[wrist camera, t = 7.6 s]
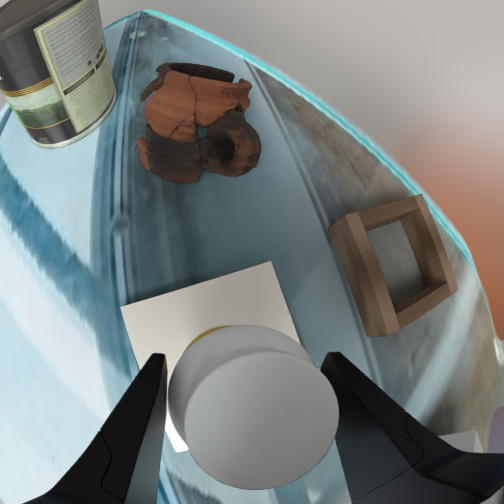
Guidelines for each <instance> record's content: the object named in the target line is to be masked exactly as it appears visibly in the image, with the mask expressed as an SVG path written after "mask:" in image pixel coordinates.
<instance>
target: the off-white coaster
mask: <svg viewBox="0 0 504 504" xmlns="http://www.w3.org/2000/svg"><path fill="white" fill-rule="evenodd" d="M120 308H121V311H122V315H123V318H124V322H125V325H126V329H127V332H128V335H129V338H130V341H131V344H132V347H133V350H134V353H135V356H136V359H137V362H138V365H139V368H140V370H141V369H142V367H143V366H144V364H145V363H146V361H147V360H148V359H149V357H150V356H151V354H152V353H163V354H165V356H166V362H167V369H168V379H167V395H168V386H169V381H170V378H171V375H172V372H173V370H174V368H175V366H176V364H177V362H178V360H179V359H180V357H181V356H182V354H183V352H184V351H185V349H186V348H187V346H188V345H189V344H190V343H191V342H192V341H193V340H194V339H195V338H196V337H197V336H198V335H200V334H201V333H203V332H205V331H207V330H209V329H211V328H214V327H218V326H226V325H259V326H264V327H268V328H271V329H274V330H277V331H279V332H282V333H284V334H286V335H287V336H289V337H291V338H292V339H294V340H295V341H296V342H298V343H299V344H300V341H299V338H298V335H297V333H296V330H295V327H294V324H293V321H292V318H291V316H290V313H289V310H288V307H287V304H286V302H285V299H284V296H283V293H282V290H281V288H280V285H279V282H278V279H277V276H276V274H275V271H274V268H273V265H272V263H271V261H269V262H266V263H263V264H259V265H256V266H253V267H250V268H247V269H244V270H240V271H237V272H234V273H231V274H228V275H225V276H221V277H218V278H215V279H212V280H208V281H205V282H202V283H199V284H195V285H192V286H189V287H186V288H182V289H179V290H176V291H173V292H169V293H166V294H163V295H159V296H156V297H153V298H149V299H146V300H143V301H139V302H136V303H133V304H129V305H126V306H123V307H120ZM300 345H301V344H300ZM165 431H166V433H167V435H168V437H169V439H170V441H171V443H172V445H173V447H174V449H175V451H176V453H177V452H181V451H185V450H189V449H188V447H187V444H186V443H185V442H184V441H183V440H182V439H181V437H180V436H179V434H178V433H177V431H176V429H175V427H174V425H173V423H172V420H171V417H170V414H169V410H168V400H167V415H166V423H165Z"/></svg>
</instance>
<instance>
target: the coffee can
mask: <svg viewBox="0 0 504 504" xmlns="http://www.w3.org/2000/svg"><path fill="white" fill-rule="evenodd" d="M0 89H1V91H2V93H3V94H4V96H5V97H6V99H7V101H8V103H9V104H10V106H11V108H12V109H13V111H14V112H15V114H16V115H17V117H18V119H19V120H20V121H21V123H22V125H23V126H24V128H25V129H26V131H27V132H28V134H29V135H30V137H31V139H32V141H33V142H34V143H35V144H37V145H38V146H40V147H43V148H58V147H63V146H66V145H69V144H72V143H74V142H76V141H78V140H80V139H82V138H83V137H85V136H86V135H88V134H89V133H91V132H92V131H93V130H95V129H96V128H97V127H98V126H99V125H100V124H101V123H102V122H103V121H104V120H105V119H106V117H107V116H108V115H109V113H110V112H111V110H112V108H113V106H114V104H115V101H116V96H117V95H116V87H115V85H114V82H113V78H112V74H111V69H110V65H109V60H108V55H107V50H106V45H105V40H104V34H103V29H102V23H101V16H100V10H99V3H98V0H10V1H8V2H7V3H6V4H4V5H3V6H2V7H0Z"/></svg>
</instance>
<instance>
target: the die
mask: <svg viewBox="0 0 504 504" xmlns="http://www.w3.org/2000/svg"><path fill="white" fill-rule="evenodd" d="M438 437H440V438H441V439H443V440H444V441H446V442H447V443H449V444H450V445H452V446H453V447H455V448H457V449H459V450H462V451H466V452H477V453H483V450H482V446H481V443H480V440H479V437H478V433H477V430H471V431H466V432H461V433H455V434H449V435H442V436H438Z"/></svg>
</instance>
